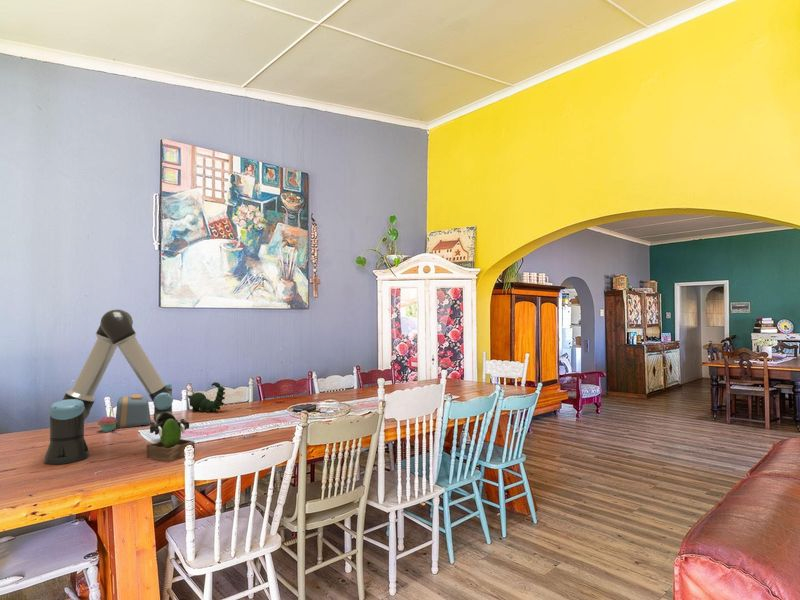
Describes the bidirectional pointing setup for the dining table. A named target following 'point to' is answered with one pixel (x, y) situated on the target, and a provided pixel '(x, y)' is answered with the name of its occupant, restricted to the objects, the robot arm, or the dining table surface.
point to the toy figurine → (207, 400)
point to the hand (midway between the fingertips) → (172, 431)
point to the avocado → (170, 433)
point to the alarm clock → (132, 411)
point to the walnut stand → (168, 450)
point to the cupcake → (107, 423)
